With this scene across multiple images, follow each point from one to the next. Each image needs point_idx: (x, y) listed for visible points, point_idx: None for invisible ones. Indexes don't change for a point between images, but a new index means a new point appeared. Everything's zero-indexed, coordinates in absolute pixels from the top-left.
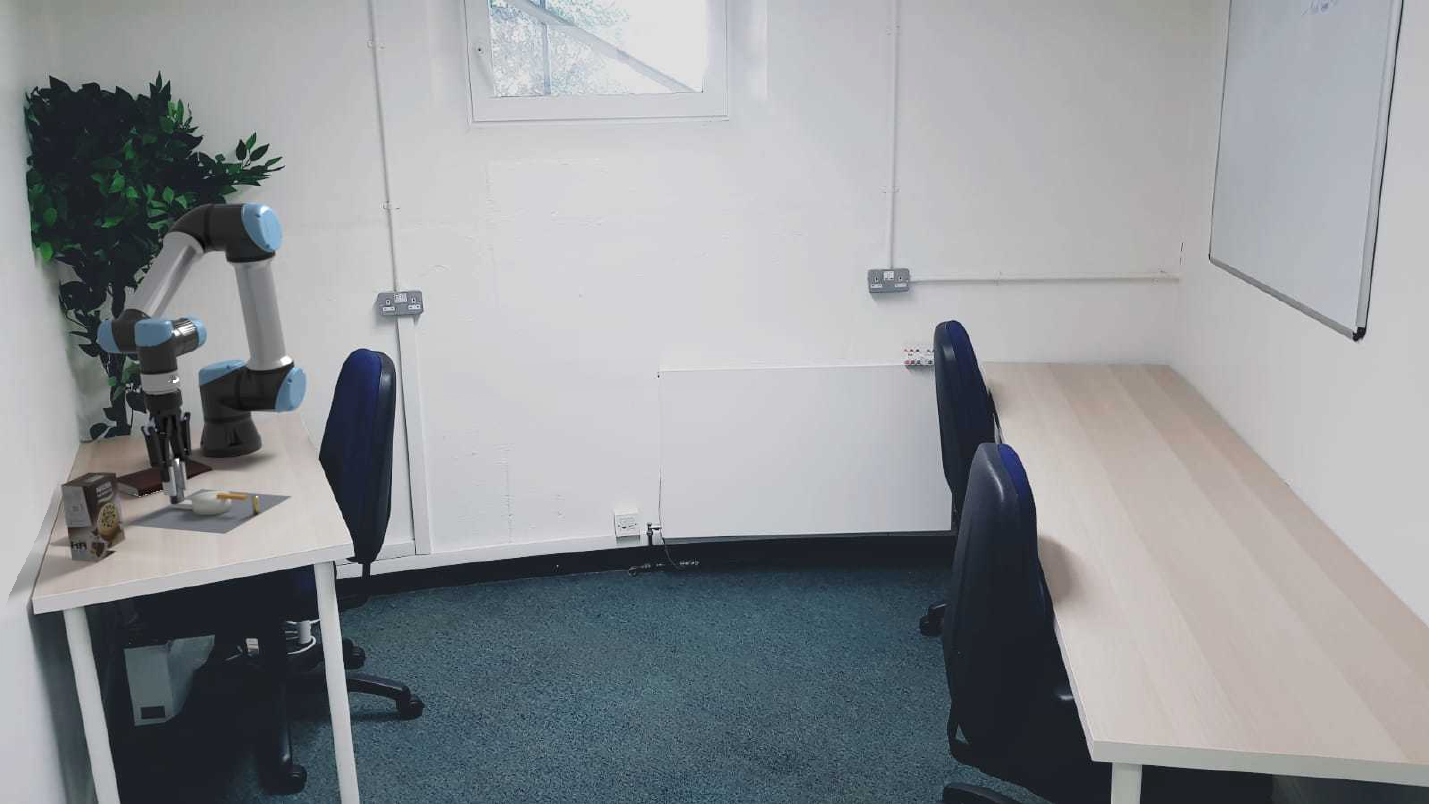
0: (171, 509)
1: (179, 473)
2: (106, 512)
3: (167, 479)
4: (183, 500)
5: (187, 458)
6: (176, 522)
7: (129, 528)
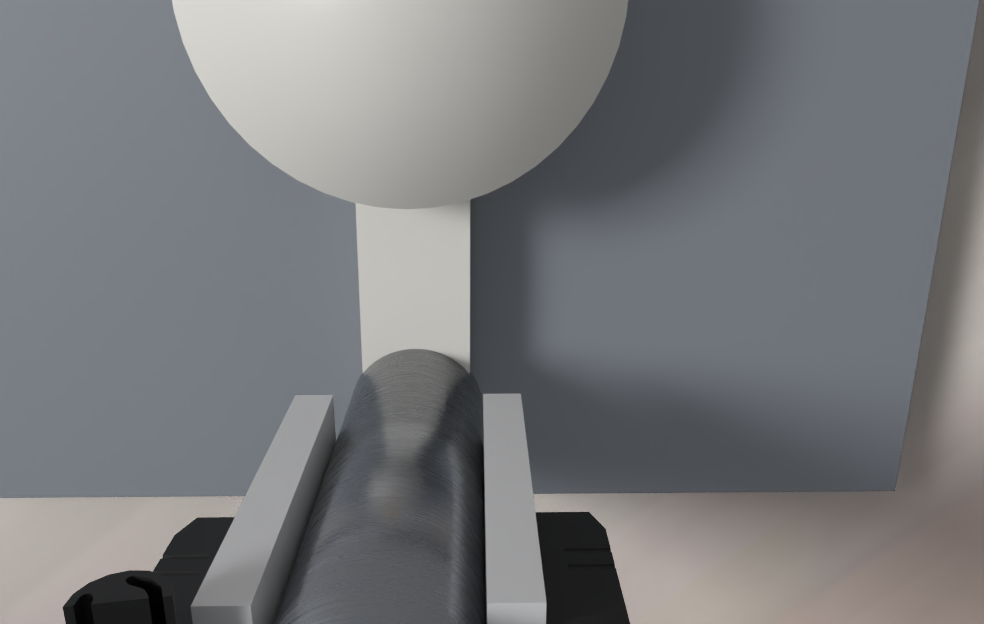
0: None
1: (380, 508)
2: None
3: (577, 533)
4: (407, 352)
5: (123, 603)
6: (803, 119)
7: (805, 504)
